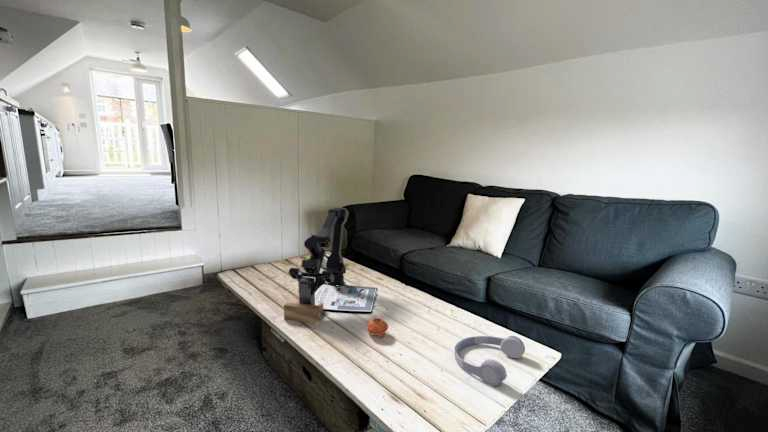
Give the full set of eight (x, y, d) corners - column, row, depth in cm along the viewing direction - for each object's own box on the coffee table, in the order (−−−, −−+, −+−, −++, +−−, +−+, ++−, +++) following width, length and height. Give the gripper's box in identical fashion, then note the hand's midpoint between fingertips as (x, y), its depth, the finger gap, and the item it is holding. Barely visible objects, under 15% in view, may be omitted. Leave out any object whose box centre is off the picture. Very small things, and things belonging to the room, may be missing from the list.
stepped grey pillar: (303, 305, 144) (303, 277, 142) (314, 306, 143) (314, 278, 141) (298, 310, 140) (297, 281, 137) (309, 311, 138) (309, 282, 136)
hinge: (340, 271, 195) (335, 256, 191) (334, 275, 193) (328, 260, 189) (326, 263, 208) (321, 249, 204) (320, 267, 206) (314, 253, 202)
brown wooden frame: (296, 307, 148) (296, 294, 147) (327, 311, 146) (327, 297, 144) (284, 319, 138) (283, 305, 137) (316, 323, 135) (316, 309, 134)
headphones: (527, 357, 116) (472, 339, 128) (528, 338, 115) (472, 322, 127) (502, 391, 99) (441, 367, 111) (502, 369, 98) (441, 347, 110)
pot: (393, 334, 128) (391, 319, 125) (378, 345, 123) (375, 330, 121) (379, 325, 134) (377, 310, 131) (364, 335, 129) (361, 321, 127)
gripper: (289, 249, 144) (277, 283, 135) (331, 253, 140) (321, 288, 131) (298, 261, 153) (287, 294, 144) (338, 265, 149) (329, 299, 140)
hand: (305, 294), depth 140 cm, fingers closed on stepped grey pillar, 5 cm apart
